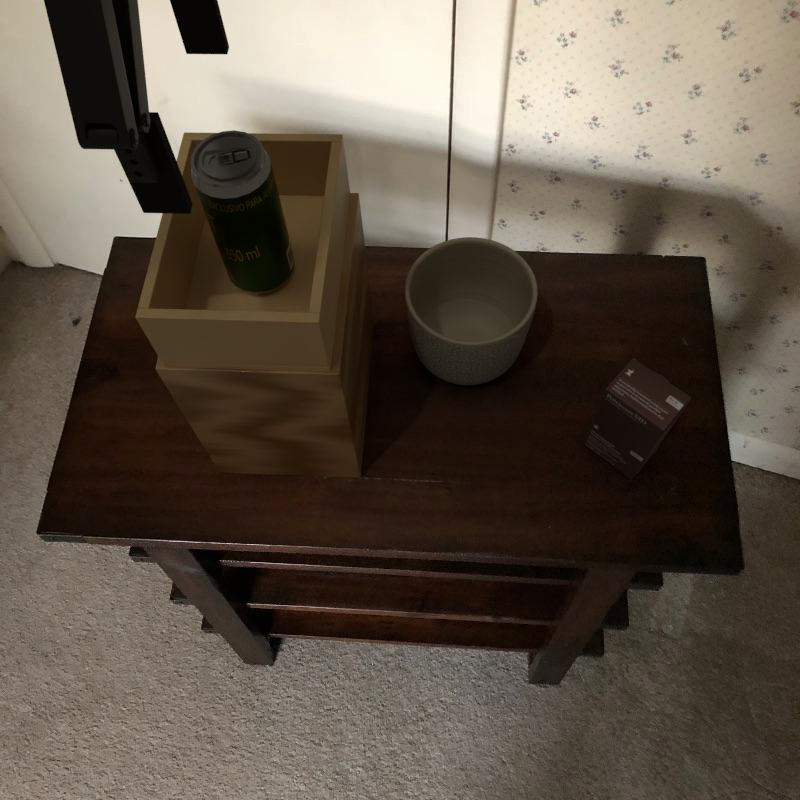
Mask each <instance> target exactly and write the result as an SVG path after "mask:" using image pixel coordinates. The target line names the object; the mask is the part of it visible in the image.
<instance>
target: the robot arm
mask: <svg viewBox="0 0 800 800" xmlns="http://www.w3.org/2000/svg"><path fill="white" fill-rule="evenodd" d="M43 3H44V7H45V10H46V15H47V19H48V24H49V28H50V32H51V36H52V40H53V44H54V48H55V52H56V53H55V54H56V57H57V61H58V65H59V69H60V72H61V77H62V81H63V86H64V90H65V93H66V98H67V101H68V102H67V103H68V106H69V110H70V114H71V119H72V122H73V123H72V124H73V126H74V131H75V136H76V139H77V142H78V145H79V147H80V148H82V149H83V150H114V153H115V155H116V157H117V159H118V161H119V163H120V165H121V168H122V170H123V172H124V174H125V176H126V179H127V180H128V183H129V186H130V187H131V189H132V192H133V193H134V196H135V198H136V200H137V202H138V205H139V206H140V208H141V210H142V212H143V214H163V213H172V214H190V213H191V209H192V204H193V203H192V201H191V198H190V196H189V193H188V190H187V188H186V185H185V182H184V180H183V177H182V174H181V172H180V169H179V166H178V164H177V158H176V156H175V154H174V153H175V152H174V151H173V148H172V145H171V143H170V140H169V138H168V135H167V132H166V130H165V128H164V124H163V121H162V119H161V117H160V114H159V111H158V112H157V111H155V112H154V111H153V112H152V111H150V108H149V98H148V97H149V96H148V89H147V88H148V87H147V78H146V69H145V59H144V49H143V40H142V39H143V38H142V30H141V29H142V27H141V19H140V10H139V9H140V8H139V0H43ZM169 3H170V5H171V9H172V11H173V12H172V13H173V15H174V18H175V21H176V25H177V27H178V32H179V34H180V37H181V41H182V44H183V47H184V50H185V54H186V55H228V53H229V49H230V44H229V41H228V37H227V32H226V29H225V25H224V21H223V17H222V14H221V9H220V5H219V1H218V0H169Z"/></svg>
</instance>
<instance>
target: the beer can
mask: <svg viewBox="0 0 800 800" xmlns="http://www.w3.org/2000/svg"><path fill="white" fill-rule="evenodd" d="M215 133H216V134H213V135H211V136H209V137H207V138H206V139H204V140H202V141H201V142H200V143H199V144H198V145H197V146H196V147H195V149H194V151H193V153H192V155H191V164H190V165H191V168H192V171H191V178H192V180H193V183H194V186H195V188H196V191H197V194H198V196H199V199H200V202H201V204H202V207H203V210H204V212H205V215H206V218H207V220H208V223H209V226H210V228H211V231H212V234H213V236H214V239H215V242H216V244H217V247H218V250H219V252H220V255H221V258H222V260H223V263H224V266H225V268H226V271H227V274H228V276H229V279H230V280H231V281H232V282H233V283H234V285H235V286H236V287H238V288H240V289H241V290H243V291H245V292H247V293H250V294H255V295H262V294H269V293H272V292H274V291H277V290H278V289H280V288H281V287H283V286H284V285H285V284H286V282H287V281H288V280H289V278H290V276H291V274H292V271H293V268H294V255H293V251H292V246H291V242H290V238H289V234H288V230H287V226H286V222H285V218H284V214H283V209H282V205H281V201H280V197H279V193H278V189H277V185H276V181H275V177H274V172H273V168H272V164H271V160H270V158H269V156H268V154H267V152H266V151H265V150H264V148H263V146H262V144H261V142H260V141H259V140H258V139H257V138H256V137H255V136H253V135H251V134H248V133H249V132H246V131H240V130H234V129H233V130H223V131H219V132H215Z"/></svg>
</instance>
